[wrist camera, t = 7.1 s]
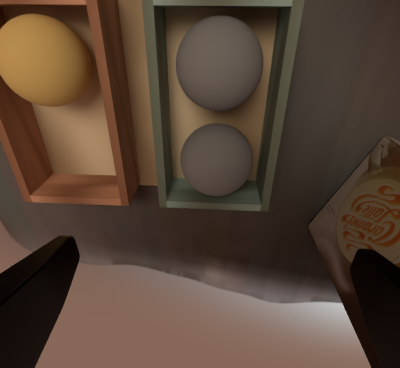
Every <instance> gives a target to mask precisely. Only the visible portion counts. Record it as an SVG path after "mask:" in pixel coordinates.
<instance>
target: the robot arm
mask: <svg viewBox="0 0 400 368" xmlns="http://www.w3.org/2000/svg"><path fill="white" fill-rule="evenodd" d="M79 258H80V255H79V251H78V248H77V245H76V241H75V239H74V237H73V236H63V235H62V236H58V237H57V238H55V239H53V240H52V241H50V242H49V243H47V244H46V245H44V246H42V247H41V248H39V249H38V250H36V251H35V252H33V253H32V254H30V255H28V256H27V257H26V258H24V259H22V260H21V261H19V262H18V263H16V264H14V265H13V266H11V267H10V268H8V269H7V270H5V271H4V272H2V273H1V274H0V368H35V366H36V363H37V362H38V359H39V357H40V355H41V353H42V351H43V349H44V347H45V344H46V342H47V340H48V338H49V336H50V333H51V332H52V329H53V327H54V325H55V323H56V321H57V319H58V316H59V314H60V312H61V309H62V308H63V305H64V303H65V300H66V297H67V294H68V292H69V289H70V286H71V283H72V280H73V277H74V274H75V271H76V268H77V265H78V262H79ZM350 275H351V279H352V282H353V286H354V289H355V293H356V296H357V300H358V303H359V307H360V310H361V314H362V317H363V320H364V323H365V325H366V328H367V331H368V333H369V336H370V338H371V341H372V343H373V346H374V348H375V351H376V353H377V355H378V358H379V360H380V363H381V365H382V368H400V268H399V267H398V266H396V265H395V264H394V263H392V262H391V261H389V260H388V259H387V258H385V257H384V256H382V255H381V254H380V253H378V252H377V251H375V250H374V249H365V248H360V249H358V250H357V251H356V254H355V256H354V258H353V261H352V263H351V265H350Z"/></svg>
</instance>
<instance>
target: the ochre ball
mask: <svg viewBox="0 0 400 368" xmlns="http://www.w3.org/2000/svg"><path fill="white" fill-rule="evenodd" d="M91 73H92V65H91V59H90V55H89V53H88V50H87V48H86V46H85V44H84V43H83V41H82V40H81V38H80V37H79V36H78V35H77V34H76V32H75V31H73V30H72V29H71V28H70V27H69V26H68V25H66V24H65V23H63V22H61V21H60V20H58V19H55V18H53V17H50V16H47V15H43V14H34V13H33V14H24V15H20V16H17V17H15V18H13V19H11V20H9V21H8V22H7V23H6V24H5V25H4V26H3V27H2V28H1V29H0V75H1V77H2V78H3V80H4V81H5V83H6V84H7V85H8V86H9V87H10V88H11V89H12V90H13V91H14V92H15V93H16V94H18V95H19V96H21V97H22V98H24V99H25V100H27V101H29V102H32V103H35V104H38V105H41V106H49V107H58V106H63V105H67V104H69V103H72V102H74V101H75V100H77V99H78V98H79V97H80V96H82V94H83V93H84V92H85V90H86V89H87V87H88V85H89V83H90V79H91Z"/></svg>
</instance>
